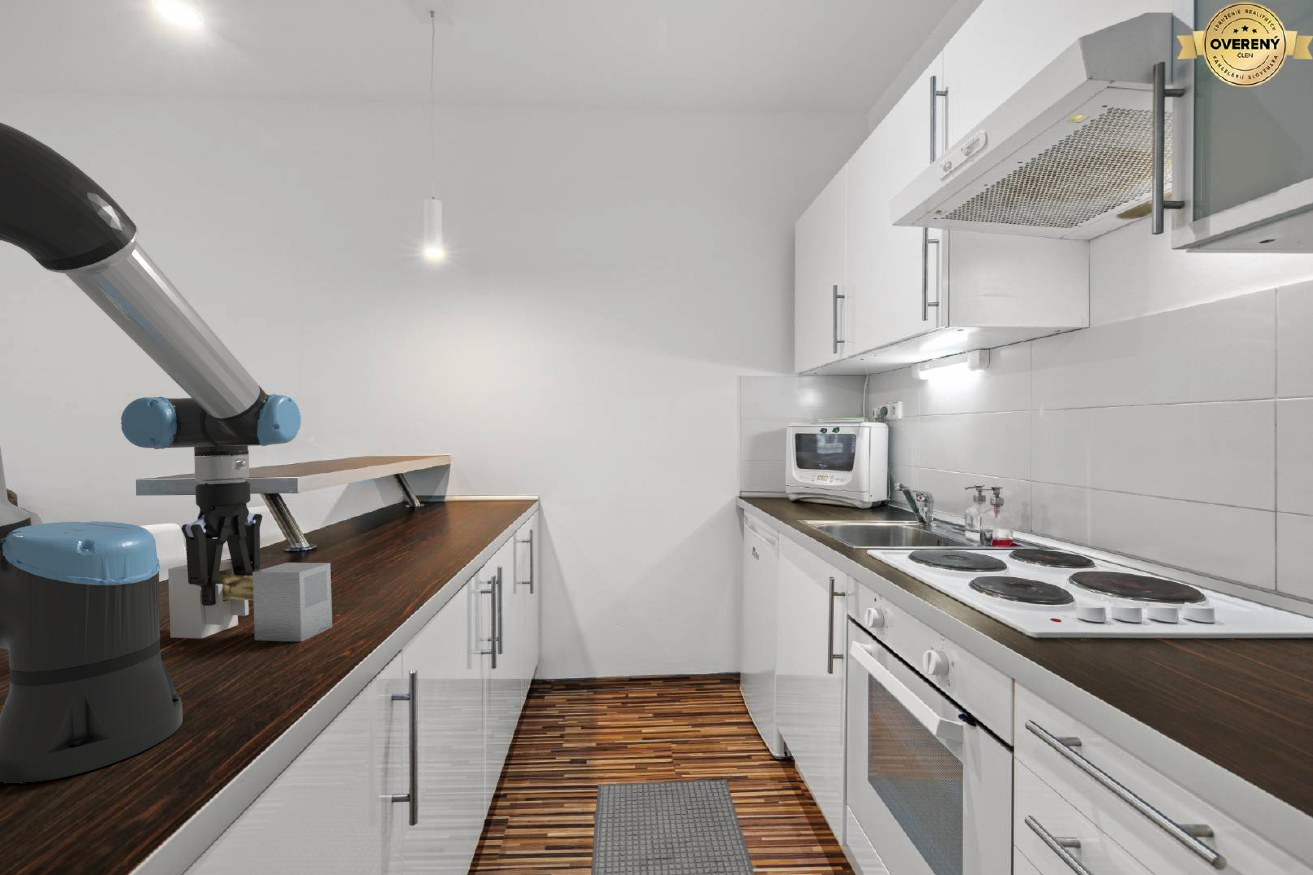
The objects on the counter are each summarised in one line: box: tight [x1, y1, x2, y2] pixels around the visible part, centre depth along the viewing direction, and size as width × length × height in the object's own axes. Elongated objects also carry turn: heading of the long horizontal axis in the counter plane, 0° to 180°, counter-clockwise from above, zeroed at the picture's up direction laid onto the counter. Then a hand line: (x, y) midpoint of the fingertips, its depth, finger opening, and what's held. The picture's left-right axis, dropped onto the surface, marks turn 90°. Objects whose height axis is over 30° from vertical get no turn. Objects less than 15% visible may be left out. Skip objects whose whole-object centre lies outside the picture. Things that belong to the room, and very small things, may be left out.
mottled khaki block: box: [208, 575, 254, 601], centre depth 101 cm, size 14×4×4 cm, turn 80°
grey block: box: [252, 562, 333, 643], centre depth 99 cm, size 8×7×11 cm
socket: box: [167, 559, 239, 639], centre depth 102 cm, size 6×7×11 cm
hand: (227, 618), depth 101 cm, fingers open, 4 cm apart
